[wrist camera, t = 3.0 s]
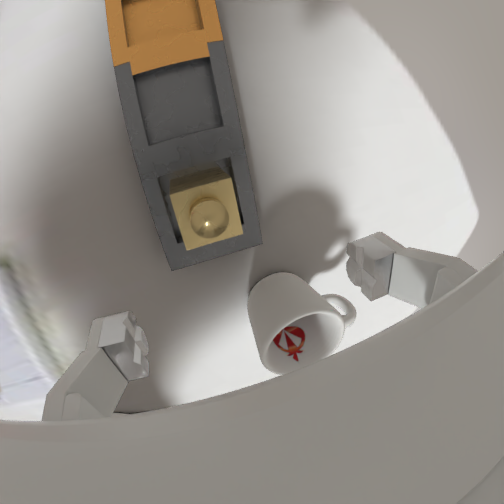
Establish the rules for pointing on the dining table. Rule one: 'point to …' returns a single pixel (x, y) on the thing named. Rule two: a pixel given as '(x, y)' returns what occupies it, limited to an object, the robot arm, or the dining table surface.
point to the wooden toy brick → (205, 207)
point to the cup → (295, 322)
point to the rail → (180, 111)
